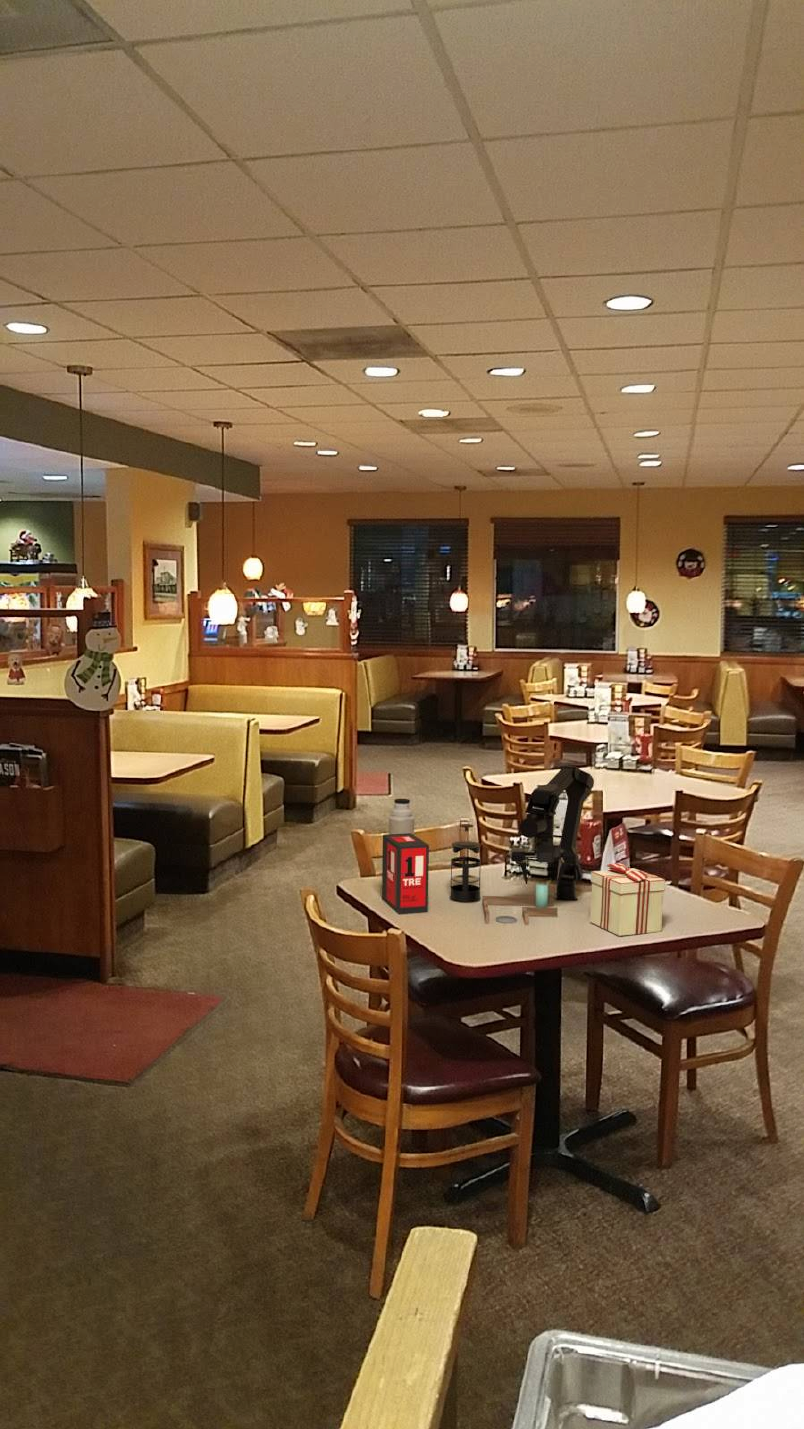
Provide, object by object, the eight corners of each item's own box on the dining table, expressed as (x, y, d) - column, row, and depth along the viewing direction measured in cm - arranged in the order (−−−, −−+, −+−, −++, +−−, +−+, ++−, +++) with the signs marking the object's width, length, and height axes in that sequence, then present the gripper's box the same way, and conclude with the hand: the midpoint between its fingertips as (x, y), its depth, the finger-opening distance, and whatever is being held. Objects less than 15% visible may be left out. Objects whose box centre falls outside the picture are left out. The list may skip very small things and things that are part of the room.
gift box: (673, 930, 307) (676, 869, 305) (622, 939, 298) (624, 876, 296) (633, 914, 322) (635, 856, 320) (582, 922, 313) (584, 863, 311)
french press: (480, 904, 330) (482, 828, 327) (449, 903, 330) (451, 827, 328) (479, 893, 342) (481, 820, 339) (449, 892, 342) (451, 819, 339)
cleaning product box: (427, 912, 320) (429, 844, 318) (398, 914, 318) (399, 846, 316) (409, 897, 336) (410, 833, 334) (381, 899, 333) (382, 834, 331)
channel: (482, 904, 330) (482, 895, 330) (552, 905, 329) (552, 897, 329) (485, 923, 310) (485, 915, 310) (560, 925, 309) (560, 916, 309)
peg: (534, 909, 325) (535, 882, 324) (546, 909, 325) (547, 882, 324) (535, 912, 322) (536, 885, 321) (547, 912, 322) (548, 886, 321)
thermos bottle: (382, 885, 349) (384, 798, 346) (402, 881, 354) (403, 796, 351) (398, 891, 343) (400, 802, 340) (418, 887, 348) (419, 799, 345)
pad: (494, 916, 317) (495, 915, 317) (515, 917, 317) (515, 916, 317) (496, 922, 311) (496, 921, 311) (517, 923, 311) (517, 922, 311)
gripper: (513, 837, 313) (512, 890, 315) (579, 838, 313) (577, 892, 314) (510, 828, 324) (509, 880, 326) (574, 830, 324) (572, 881, 326)
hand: (542, 884), depth 323 cm, fingers open, 9 cm apart
